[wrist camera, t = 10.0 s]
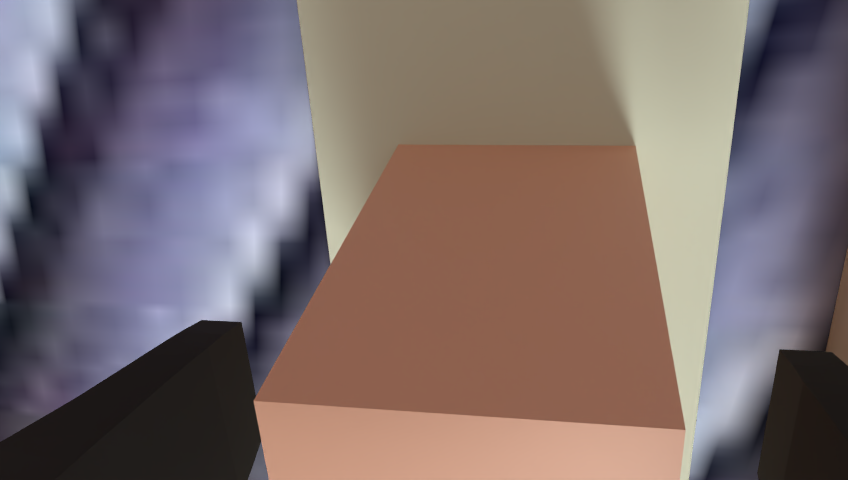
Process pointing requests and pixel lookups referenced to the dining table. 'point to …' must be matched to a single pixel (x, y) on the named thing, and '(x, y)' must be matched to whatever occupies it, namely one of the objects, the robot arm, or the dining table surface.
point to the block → (484, 328)
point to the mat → (542, 112)
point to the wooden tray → (840, 320)
